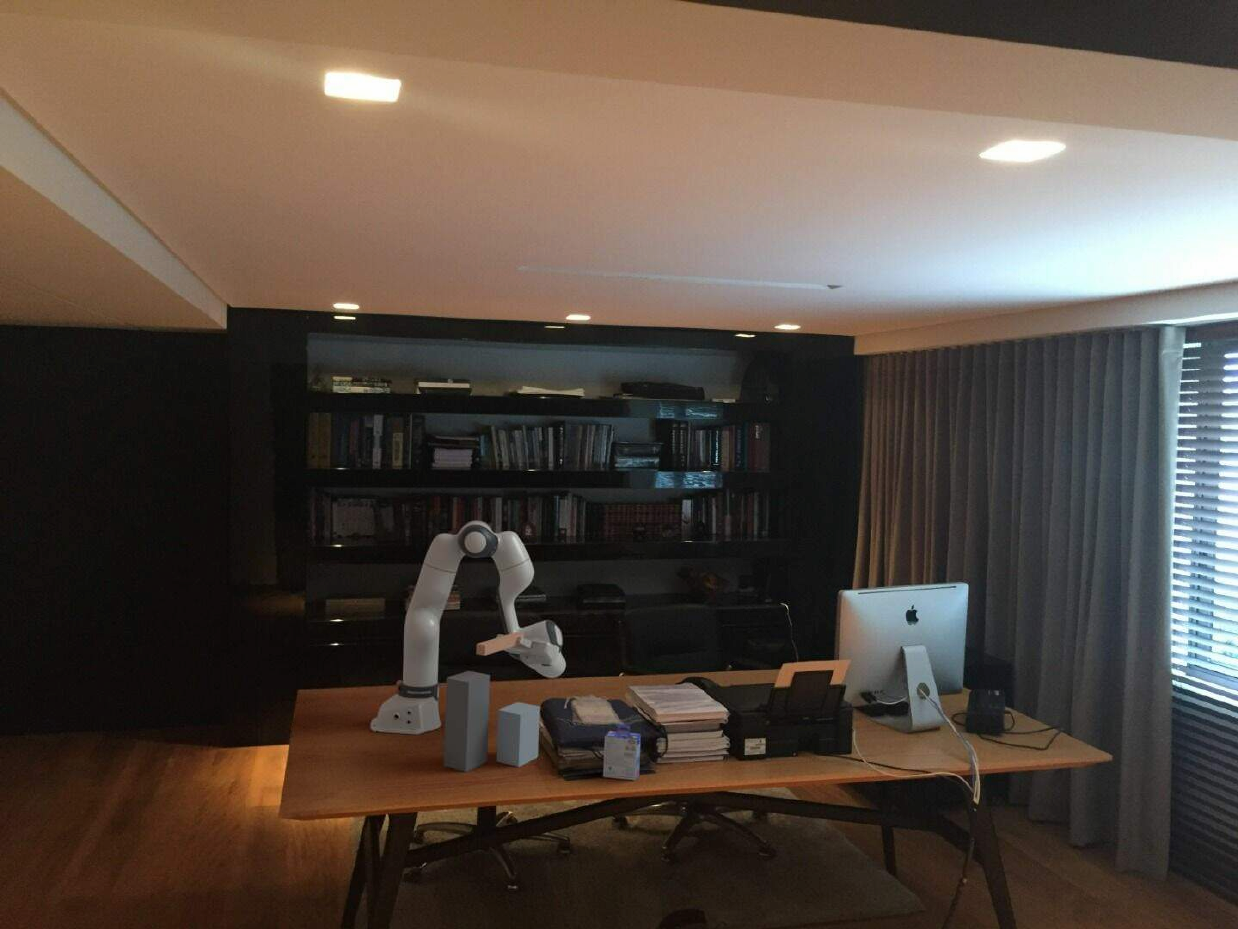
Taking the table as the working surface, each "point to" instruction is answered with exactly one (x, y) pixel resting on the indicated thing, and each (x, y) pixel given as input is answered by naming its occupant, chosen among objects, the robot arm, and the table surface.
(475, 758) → the tall stand
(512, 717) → the low block
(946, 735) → the table surface
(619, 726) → the ink cartridge box
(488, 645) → the bar
